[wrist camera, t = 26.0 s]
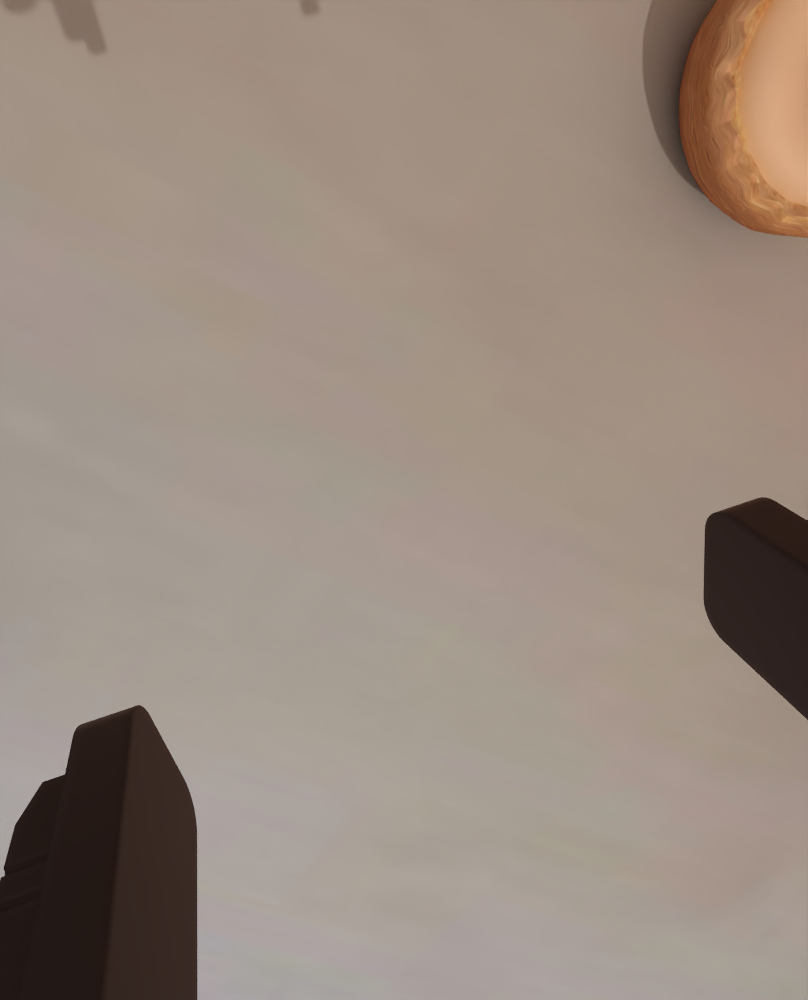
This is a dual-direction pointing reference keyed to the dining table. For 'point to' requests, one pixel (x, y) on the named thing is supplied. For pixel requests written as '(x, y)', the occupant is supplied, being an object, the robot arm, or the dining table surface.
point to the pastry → (750, 113)
